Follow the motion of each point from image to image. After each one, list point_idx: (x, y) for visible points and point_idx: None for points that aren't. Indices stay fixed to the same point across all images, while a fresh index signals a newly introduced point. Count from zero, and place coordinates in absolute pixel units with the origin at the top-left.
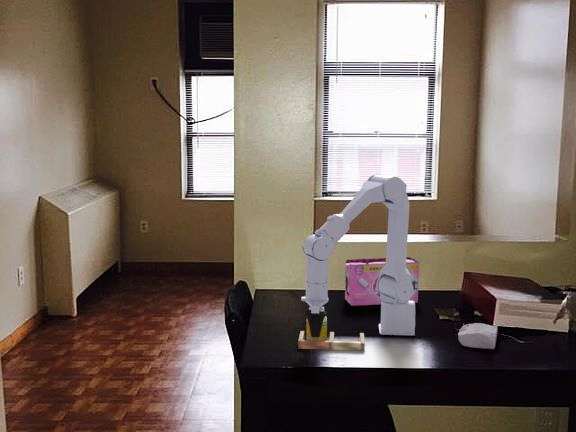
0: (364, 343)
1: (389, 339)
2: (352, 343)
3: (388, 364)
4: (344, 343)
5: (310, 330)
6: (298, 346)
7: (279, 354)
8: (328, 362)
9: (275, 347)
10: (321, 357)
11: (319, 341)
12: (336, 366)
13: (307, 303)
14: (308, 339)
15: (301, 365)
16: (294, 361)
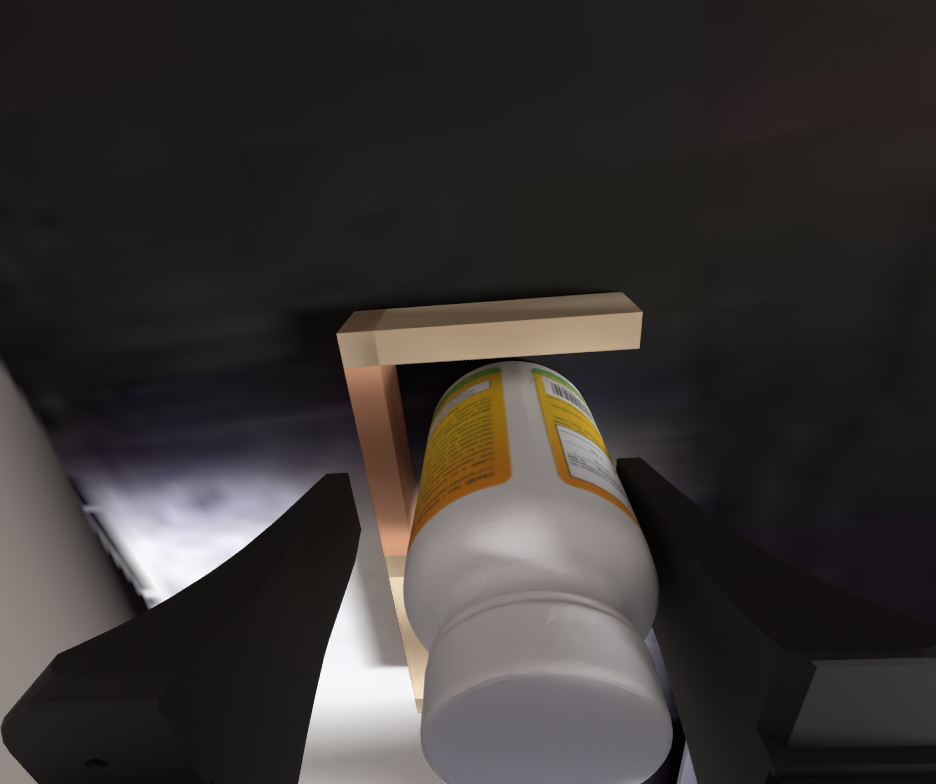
0: (418, 712)
1: None
2: (408, 663)
3: None
4: (401, 627)
5: (285, 512)
6: (351, 318)
7: (159, 164)
8: (176, 527)
9: (322, 77)
10: (239, 485)
11: (379, 496)
12: (138, 567)
13: (772, 646)
14: (449, 401)
15: (34, 383)
16: (76, 323)
